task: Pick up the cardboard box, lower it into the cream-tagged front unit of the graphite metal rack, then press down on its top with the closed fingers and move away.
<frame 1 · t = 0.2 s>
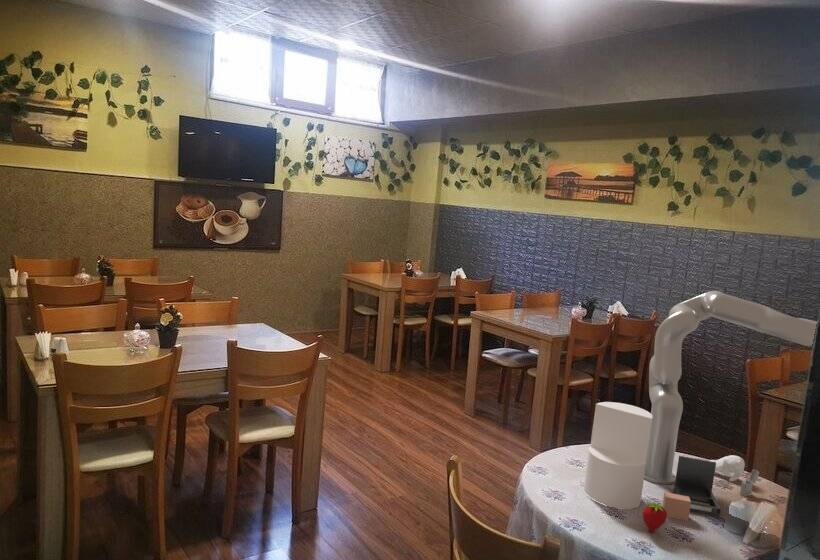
hand: (816, 412, 196), 31 cm above the table, tool pointing down, fingers open, 9 cm apart
rack: (695, 503, 194), on the table
cylinder: (611, 496, 193), on the table
lighter: (747, 494, 204), on the table
white rounded lump: (723, 477, 217), on the table
strawberry: (652, 532, 173), on the table
cardboard box: (674, 515, 184), on the table
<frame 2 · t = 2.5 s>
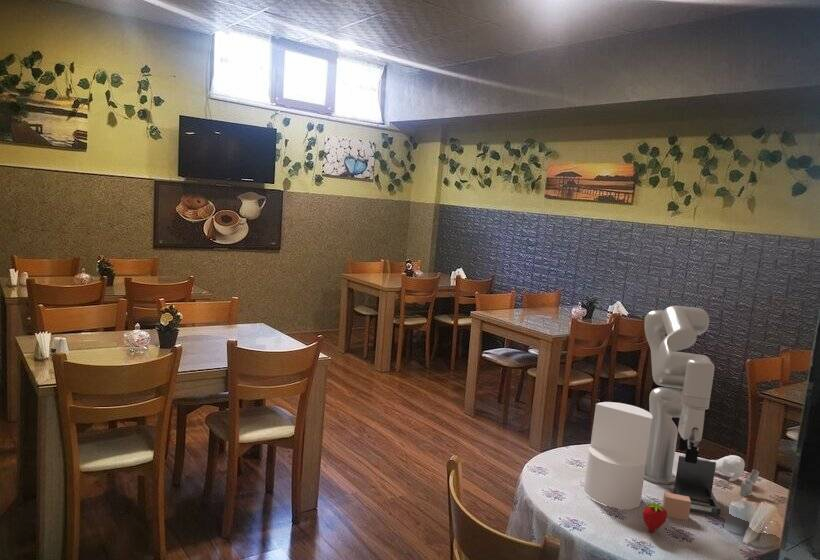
hand: (687, 456, 182), 19 cm above the table, tool pointing down, fingers open, 9 cm apart
nothing on the table moved.
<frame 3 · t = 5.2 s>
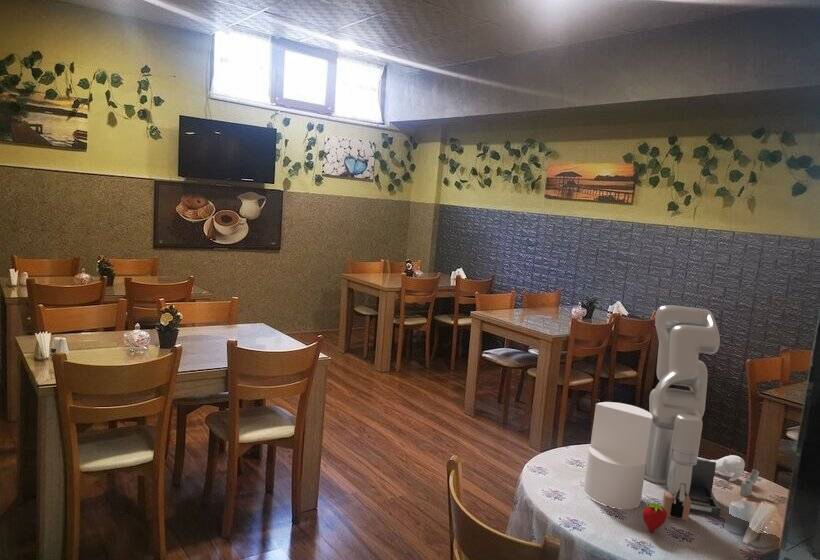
hand: (675, 512, 184), 1 cm above the table, tool pointing down, fingers closed on cardboard box, 3 cm apart
cardboard box: (674, 515, 184), on the table, touching gripper
everything else where it was.
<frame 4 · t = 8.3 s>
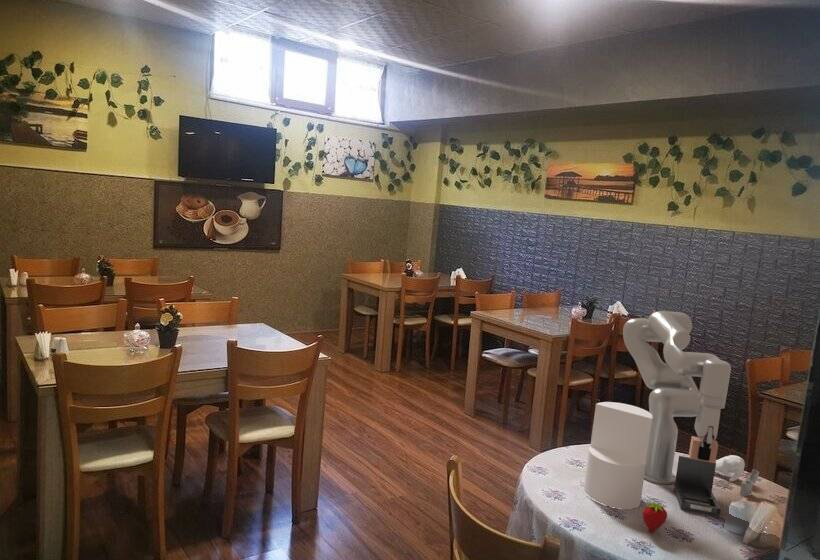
hand: (702, 456, 188), 17 cm above the table, tool pointing down, fingers closed on cardboard box, 3 cm apart
cardboard box: (701, 458, 188), point 16 cm above the table, touching gripper
everything else where it was.
when the fingers open (4 cm above the table, at t = 11.4 s): cardboard box drops 2 cm, resting on rack.
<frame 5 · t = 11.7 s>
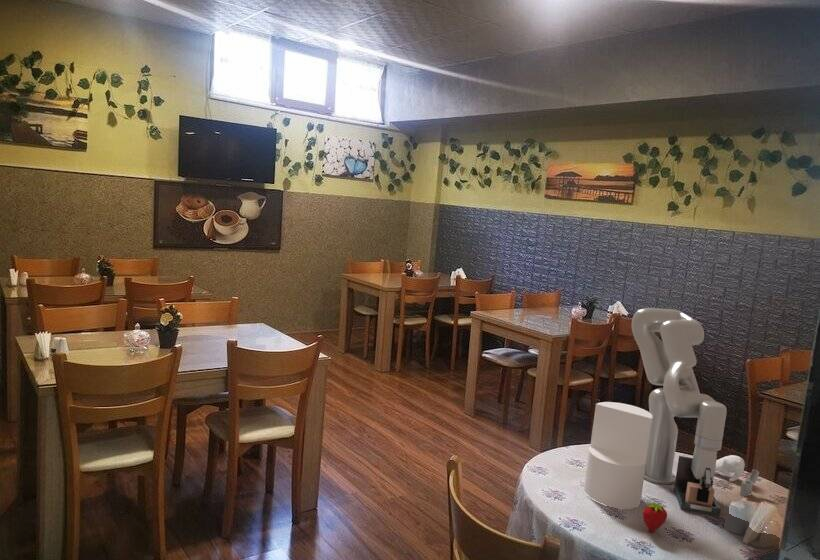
hand: (699, 495, 190), 4 cm above the table, tool pointing down, fingers open, 6 cm apart
cardboard box: (698, 504, 190), point 1 cm above the table, touching rack
everything else where it was.
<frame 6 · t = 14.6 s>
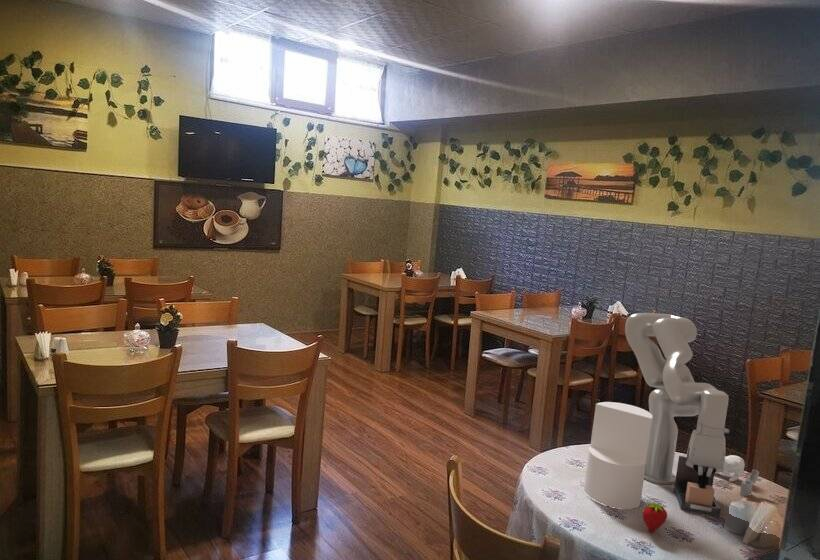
hand: (701, 486, 189), 7 cm above the table, tool pointing down, fingers closed
cardboard box: (698, 504, 190), point 1 cm above the table, touching gripper, rack
everything else where it was.
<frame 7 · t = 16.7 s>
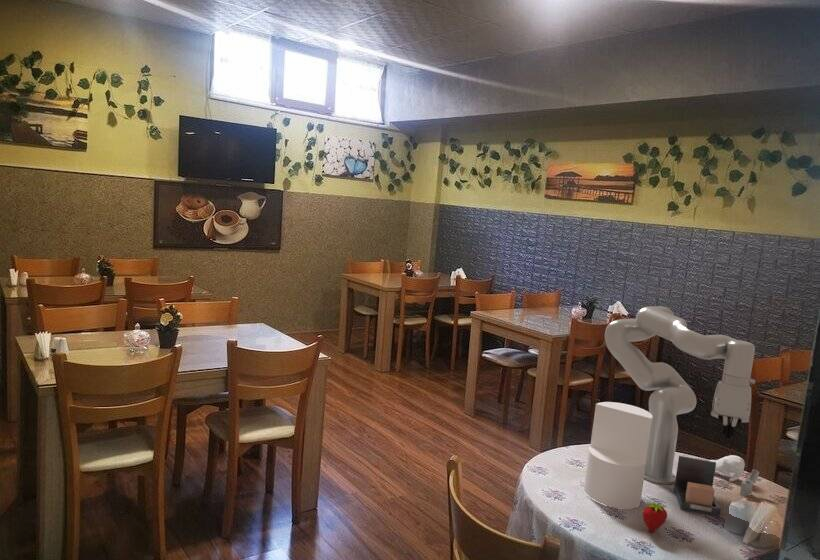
hand: (726, 437, 190), 23 cm above the table, tool pointing down, fingers closed
cardboard box: (698, 504, 190), point 1 cm above the table, touching rack
everything else where it was.
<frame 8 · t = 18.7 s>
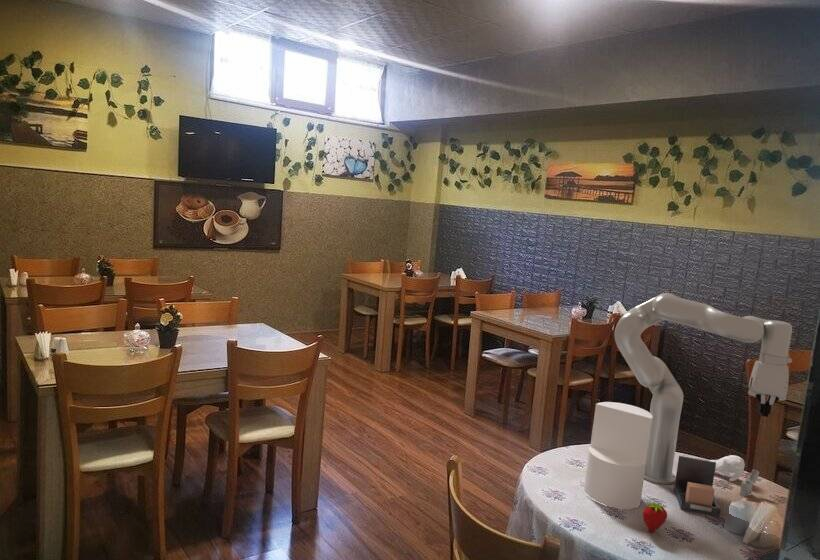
hand: (763, 415, 195), 29 cm above the table, tool pointing down, fingers closed
nothing on the table moved.
at the end: cardboard box 0.0 cm from the target spot on the rack, point 1.1 cm above the rack's base; cardboard box tilted 0°; the gripper is holding nothing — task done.
